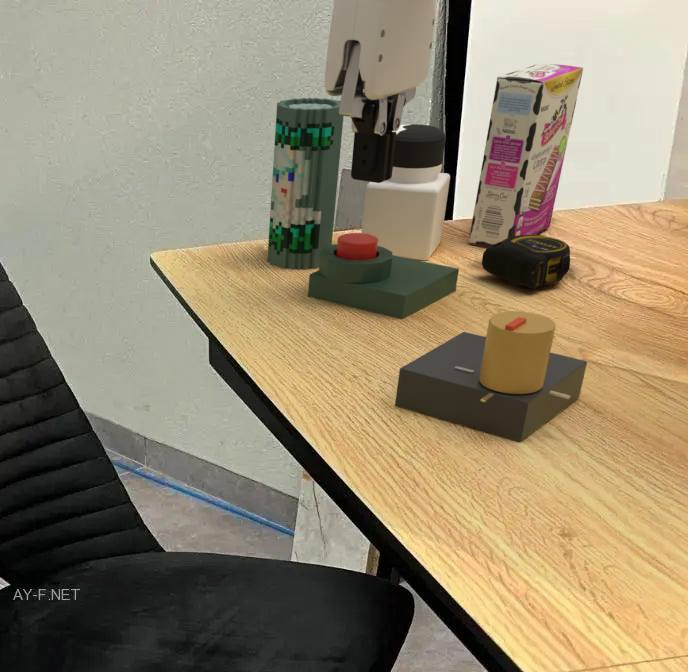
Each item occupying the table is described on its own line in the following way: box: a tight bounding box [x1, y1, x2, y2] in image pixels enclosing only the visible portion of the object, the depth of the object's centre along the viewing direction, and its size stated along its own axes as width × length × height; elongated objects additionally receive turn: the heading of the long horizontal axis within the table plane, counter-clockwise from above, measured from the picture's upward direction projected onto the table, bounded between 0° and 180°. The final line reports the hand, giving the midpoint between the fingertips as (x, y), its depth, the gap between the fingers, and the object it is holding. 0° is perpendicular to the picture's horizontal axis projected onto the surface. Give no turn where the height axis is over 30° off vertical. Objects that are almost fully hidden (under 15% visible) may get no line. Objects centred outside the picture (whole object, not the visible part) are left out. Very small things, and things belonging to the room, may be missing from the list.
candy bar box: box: [467, 63, 584, 248], centre depth 118 cm, size 11×5×16 cm, turn 141°
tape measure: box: [481, 234, 571, 289], centre depth 109 cm, size 7×7×4 cm
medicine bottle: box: [361, 123, 451, 262], centre depth 116 cm, size 7×7×12 cm
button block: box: [307, 243, 460, 320], centre depth 107 cm, size 10×10×4 cm
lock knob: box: [479, 310, 557, 394], centre depth 80 cm, size 4×4×5 cm
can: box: [267, 97, 345, 271], centre depth 113 cm, size 6×6×15 cm
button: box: [336, 232, 378, 260], centre depth 105 cm, size 4×4×2 cm
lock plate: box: [394, 331, 588, 443], centre depth 84 cm, size 12×12×3 cm
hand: (370, 178), depth 101 cm, fingers closed
